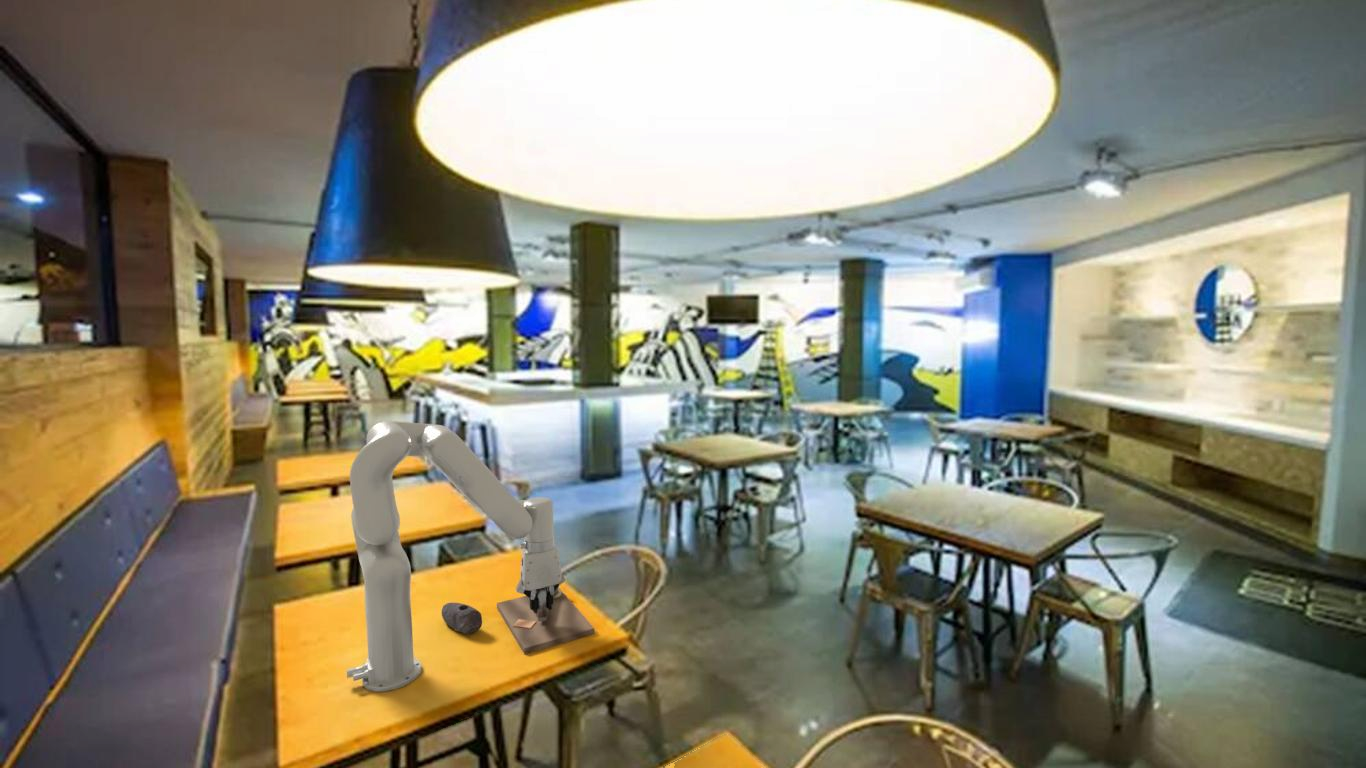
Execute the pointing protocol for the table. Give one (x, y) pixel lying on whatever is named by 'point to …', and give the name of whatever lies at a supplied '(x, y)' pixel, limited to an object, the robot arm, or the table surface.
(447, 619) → the perforated stone tool
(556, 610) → the board
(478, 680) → the table surface
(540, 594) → the press lever
